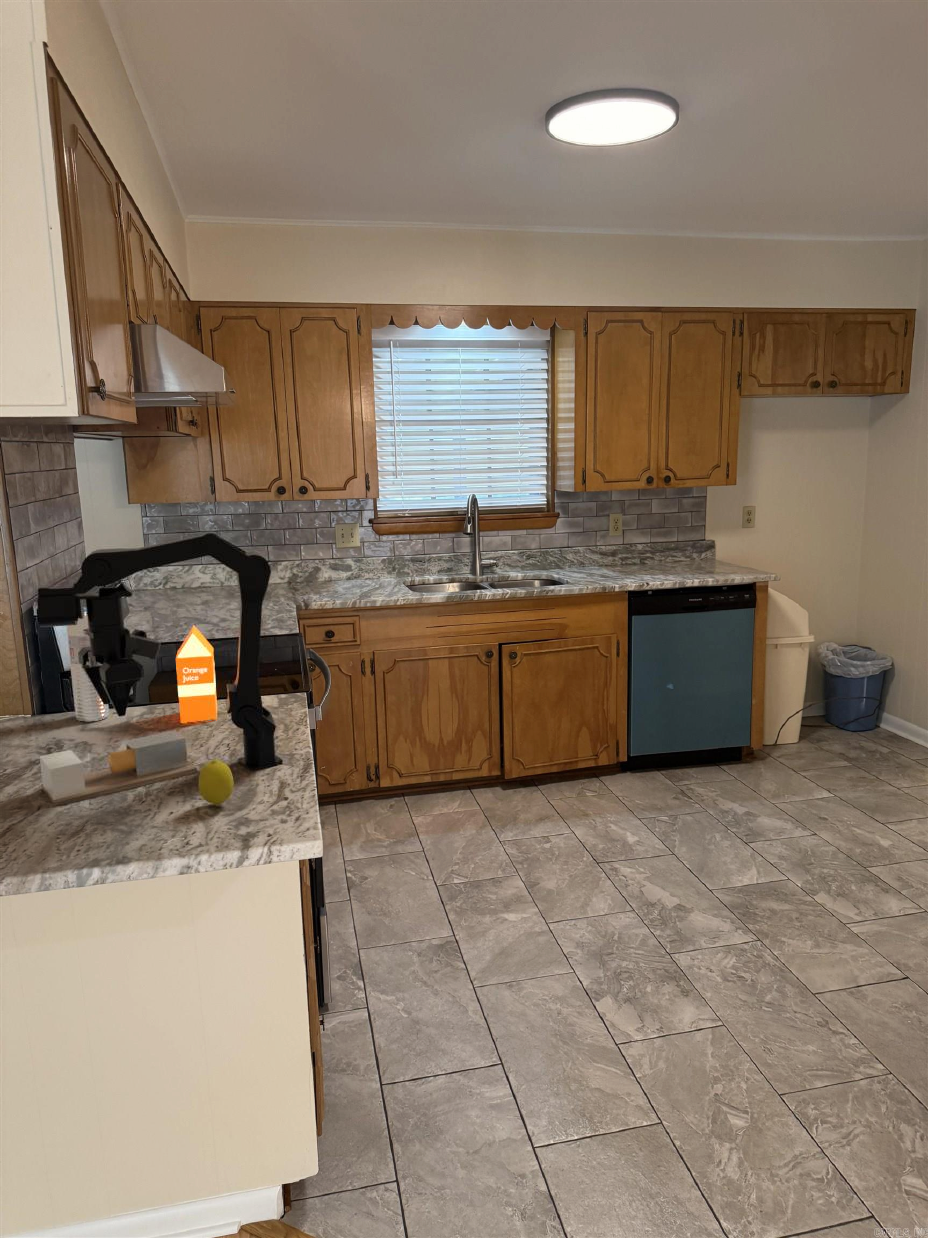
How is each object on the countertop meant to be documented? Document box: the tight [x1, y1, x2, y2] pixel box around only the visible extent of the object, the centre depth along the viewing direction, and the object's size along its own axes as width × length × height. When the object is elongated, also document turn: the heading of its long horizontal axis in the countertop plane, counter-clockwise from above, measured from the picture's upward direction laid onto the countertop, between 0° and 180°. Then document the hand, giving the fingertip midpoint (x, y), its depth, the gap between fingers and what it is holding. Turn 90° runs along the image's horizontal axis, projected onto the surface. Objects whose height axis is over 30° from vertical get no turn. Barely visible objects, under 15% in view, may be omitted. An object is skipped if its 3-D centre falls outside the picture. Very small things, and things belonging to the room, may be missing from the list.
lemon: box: [197, 759, 235, 807], centre depth 137 cm, size 6×6×8 cm
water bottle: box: [66, 606, 110, 723], centre depth 183 cm, size 7×7×25 cm
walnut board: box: [41, 760, 198, 807], centre depth 149 cm, size 10×24×1 cm, turn 128°
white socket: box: [39, 749, 86, 800], centre depth 143 cm, size 8×5×5 cm, turn 38°
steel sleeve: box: [124, 730, 188, 778], centre depth 152 cm, size 6×9×5 cm, turn 128°
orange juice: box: [175, 625, 218, 724], centre depth 184 cm, size 8×9×20 cm
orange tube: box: [107, 746, 188, 773], centre depth 151 cm, size 4×13×4 cm, turn 128°
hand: (114, 709), depth 147 cm, fingers open, 9 cm apart
